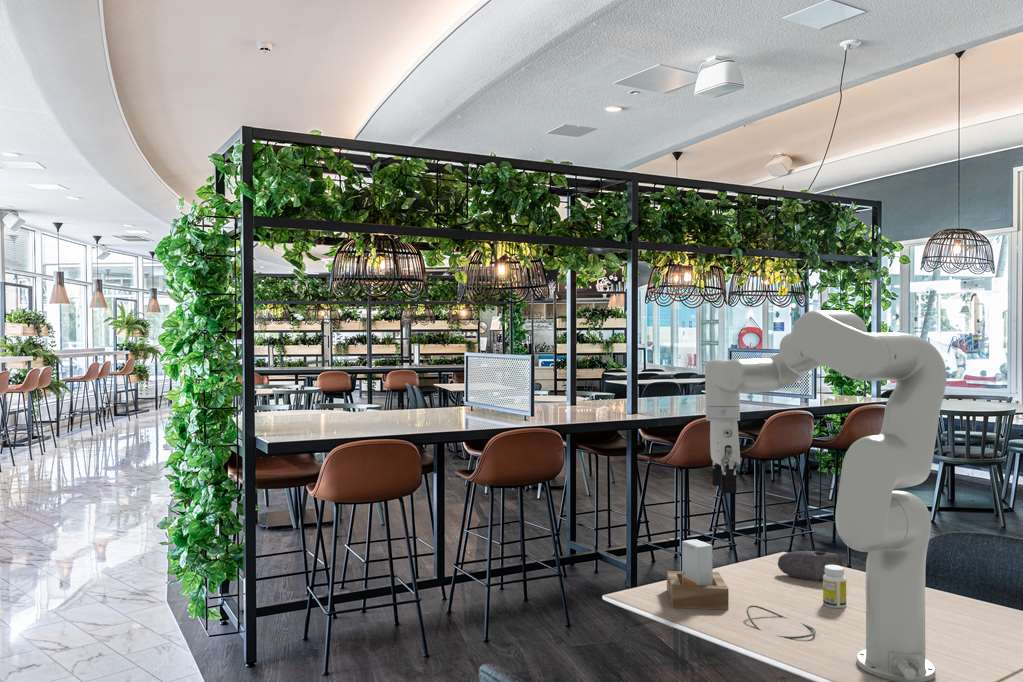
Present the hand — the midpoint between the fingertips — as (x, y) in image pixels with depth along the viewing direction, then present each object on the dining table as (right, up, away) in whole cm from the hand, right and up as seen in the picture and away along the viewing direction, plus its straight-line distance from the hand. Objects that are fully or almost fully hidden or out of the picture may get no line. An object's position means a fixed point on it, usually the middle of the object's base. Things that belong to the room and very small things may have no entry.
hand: (724, 489), depth 173 cm
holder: (-6, -25, 0) cm, 26 cm away
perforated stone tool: (+25, -25, +15) cm, 39 cm away
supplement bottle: (+23, -25, -4) cm, 35 cm away
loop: (+7, -26, -17) cm, 31 cm away
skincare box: (-6, -24, -1) cm, 25 cm away
